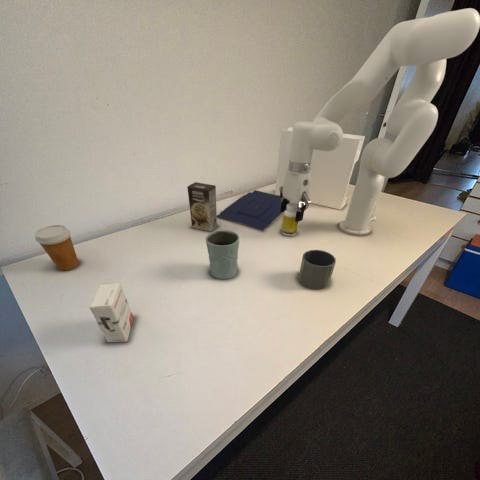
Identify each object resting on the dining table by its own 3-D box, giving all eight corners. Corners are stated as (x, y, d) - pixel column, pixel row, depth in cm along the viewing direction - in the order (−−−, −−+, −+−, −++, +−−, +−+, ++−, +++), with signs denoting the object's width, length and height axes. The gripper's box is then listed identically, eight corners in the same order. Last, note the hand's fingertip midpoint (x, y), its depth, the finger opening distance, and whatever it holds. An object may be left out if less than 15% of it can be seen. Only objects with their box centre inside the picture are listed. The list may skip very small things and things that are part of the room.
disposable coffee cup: (90, 260, 90) (75, 227, 81) (68, 275, 83) (50, 240, 75) (68, 255, 92) (51, 222, 83) (45, 269, 85) (25, 235, 77)
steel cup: (314, 268, 88) (320, 247, 82) (335, 283, 82) (342, 261, 77) (292, 276, 85) (296, 254, 79) (311, 292, 79) (317, 270, 73)
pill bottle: (296, 237, 104) (301, 209, 96) (280, 235, 105) (284, 207, 97) (296, 230, 108) (301, 202, 101) (281, 228, 109) (285, 201, 101)
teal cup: (215, 283, 81) (213, 248, 73) (203, 267, 88) (200, 233, 79) (244, 275, 85) (245, 241, 76) (230, 260, 91) (230, 227, 83)
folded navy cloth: (295, 205, 124) (296, 198, 121) (263, 236, 108) (263, 228, 106) (251, 194, 133) (251, 187, 130) (216, 222, 118) (215, 214, 115)
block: (274, 194, 138) (281, 129, 118) (281, 190, 143) (289, 127, 123) (340, 209, 124) (360, 139, 105) (345, 204, 129) (365, 136, 110)
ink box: (115, 318, 70) (99, 282, 61) (134, 317, 70) (121, 281, 62) (106, 343, 63) (87, 307, 55) (127, 342, 64) (111, 306, 56)
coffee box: (191, 228, 108) (186, 186, 97) (198, 221, 113) (194, 181, 101) (211, 232, 106) (208, 190, 95) (217, 225, 110) (215, 184, 99)
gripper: (324, 172, 86) (313, 223, 98) (292, 159, 96) (285, 206, 108) (306, 175, 83) (297, 227, 95) (275, 161, 94) (270, 210, 106)
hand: (290, 216), depth 102 cm, fingers open, 9 cm apart
